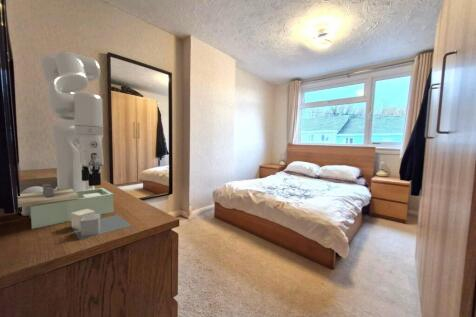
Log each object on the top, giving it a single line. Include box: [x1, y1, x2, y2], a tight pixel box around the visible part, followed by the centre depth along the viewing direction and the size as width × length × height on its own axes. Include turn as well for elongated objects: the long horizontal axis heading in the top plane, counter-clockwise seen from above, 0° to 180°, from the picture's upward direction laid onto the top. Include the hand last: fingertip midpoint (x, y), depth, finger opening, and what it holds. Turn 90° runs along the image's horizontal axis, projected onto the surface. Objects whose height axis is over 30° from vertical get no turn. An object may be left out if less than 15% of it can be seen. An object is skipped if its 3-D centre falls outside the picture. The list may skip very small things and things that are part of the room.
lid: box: [17, 183, 79, 209], centre depth 61 cm, size 12×12×4 cm
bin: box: [29, 187, 115, 230], centre depth 66 cm, size 12×20×6 cm, turn 137°
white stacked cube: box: [82, 193, 101, 198], centre depth 69 cm, size 4×4×5 cm
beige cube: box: [71, 209, 95, 230], centre depth 57 cm, size 4×4×4 cm
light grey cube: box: [80, 214, 101, 237], centre depth 54 cm, size 4×4×4 cm
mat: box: [70, 214, 133, 241], centre depth 58 cm, size 12×12×1 cm
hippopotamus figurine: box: [19, 185, 59, 217], centre depth 69 cm, size 8×12×9 cm, turn 139°
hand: (91, 182), depth 69 cm, fingers open, 9 cm apart
